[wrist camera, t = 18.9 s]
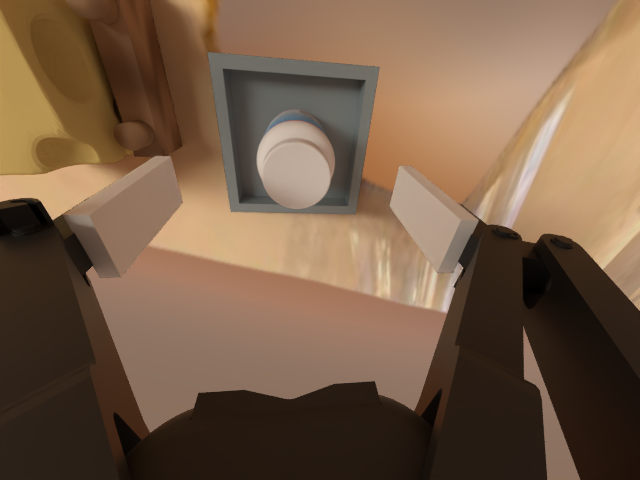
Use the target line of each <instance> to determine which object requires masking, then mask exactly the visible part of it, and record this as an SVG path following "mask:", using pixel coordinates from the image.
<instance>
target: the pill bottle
mask: <svg viewBox="0 0 640 480" xmlns="http://www.w3.org/2000/svg"><path fill="white" fill-rule="evenodd" d="M257 168H258V172H259V175H260V177H261V179H262V181H263V185H264V188H265V190H266V191H267V193H268V195H269V196H270V197H271V198H272V199H273V200H274V201H276V202H277V203H278V204H280V205H282V206H284V207H287V208H291V209H303V208H307V207H310V206H312V205H314V204H316V203H317V202H319V201H320V200H321V199H322V198H323V197H324V196H325V194H326V193H327V191H328V189H329V186H330V182H331V178H332V176H333V173H334V168H335V156H334V151H333V148H332V145H331V143H330V141H329V139H328V138H327V136H326V134H325V132H324V130H323V128H322V126H321V125H320V123H319V122H318V120H317V119H316V118H315V117H314V116H312V115H311V114H310V113H308V112H306V111H303V110H298V109H291V110H287V111H284V112H282V113H280V114H279V115H277V116H276V117H275V118H274V119H273V120H272V122H271V123H270V124H269V126H268V128H267V130H266V132H265V134H264V136H263V138H262V140H261V142H260V145H259V147H258V151H257Z"/></svg>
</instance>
